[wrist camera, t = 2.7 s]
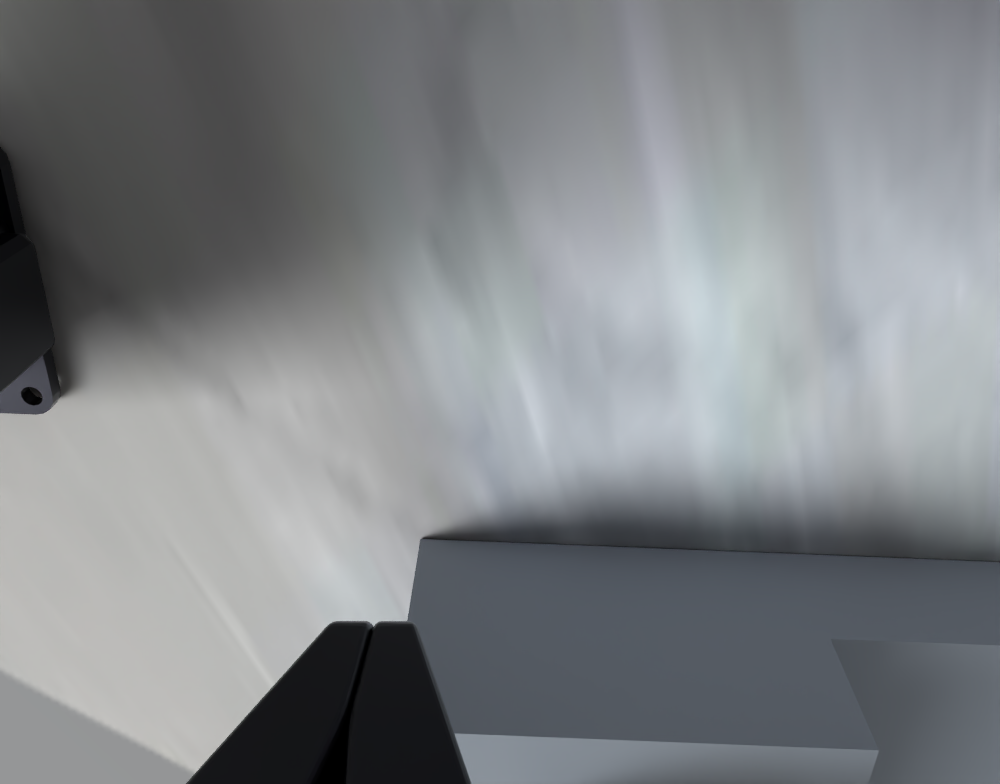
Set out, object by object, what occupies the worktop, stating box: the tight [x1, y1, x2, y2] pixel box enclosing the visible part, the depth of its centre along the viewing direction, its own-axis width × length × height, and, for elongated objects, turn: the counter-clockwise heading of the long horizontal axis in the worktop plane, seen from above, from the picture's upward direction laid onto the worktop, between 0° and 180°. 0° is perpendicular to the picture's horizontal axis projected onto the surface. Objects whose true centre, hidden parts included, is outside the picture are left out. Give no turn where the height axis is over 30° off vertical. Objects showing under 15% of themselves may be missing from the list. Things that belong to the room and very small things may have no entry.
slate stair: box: [407, 539, 1000, 784], centre depth 23 cm, size 18×10×6 cm, turn 88°
